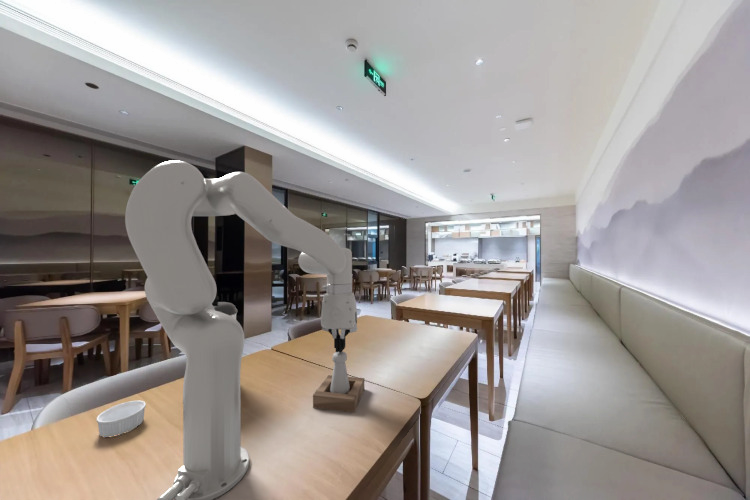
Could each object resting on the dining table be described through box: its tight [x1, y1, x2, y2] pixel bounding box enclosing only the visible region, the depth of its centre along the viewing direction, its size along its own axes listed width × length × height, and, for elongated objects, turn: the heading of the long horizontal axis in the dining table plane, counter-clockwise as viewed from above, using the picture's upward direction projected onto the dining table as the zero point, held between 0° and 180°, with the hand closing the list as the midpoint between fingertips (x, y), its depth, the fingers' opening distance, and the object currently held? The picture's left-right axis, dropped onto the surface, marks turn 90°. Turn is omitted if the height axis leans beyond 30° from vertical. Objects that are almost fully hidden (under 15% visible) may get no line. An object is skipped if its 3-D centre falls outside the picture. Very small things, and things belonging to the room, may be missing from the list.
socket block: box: [312, 374, 365, 413], centre depth 77 cm, size 12×12×4 cm
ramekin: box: [96, 399, 147, 438], centre depth 65 cm, size 9×9×4 cm
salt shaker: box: [330, 350, 350, 394], centre depth 77 cm, size 6×6×13 cm
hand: (339, 350), depth 77 cm, fingers closed
